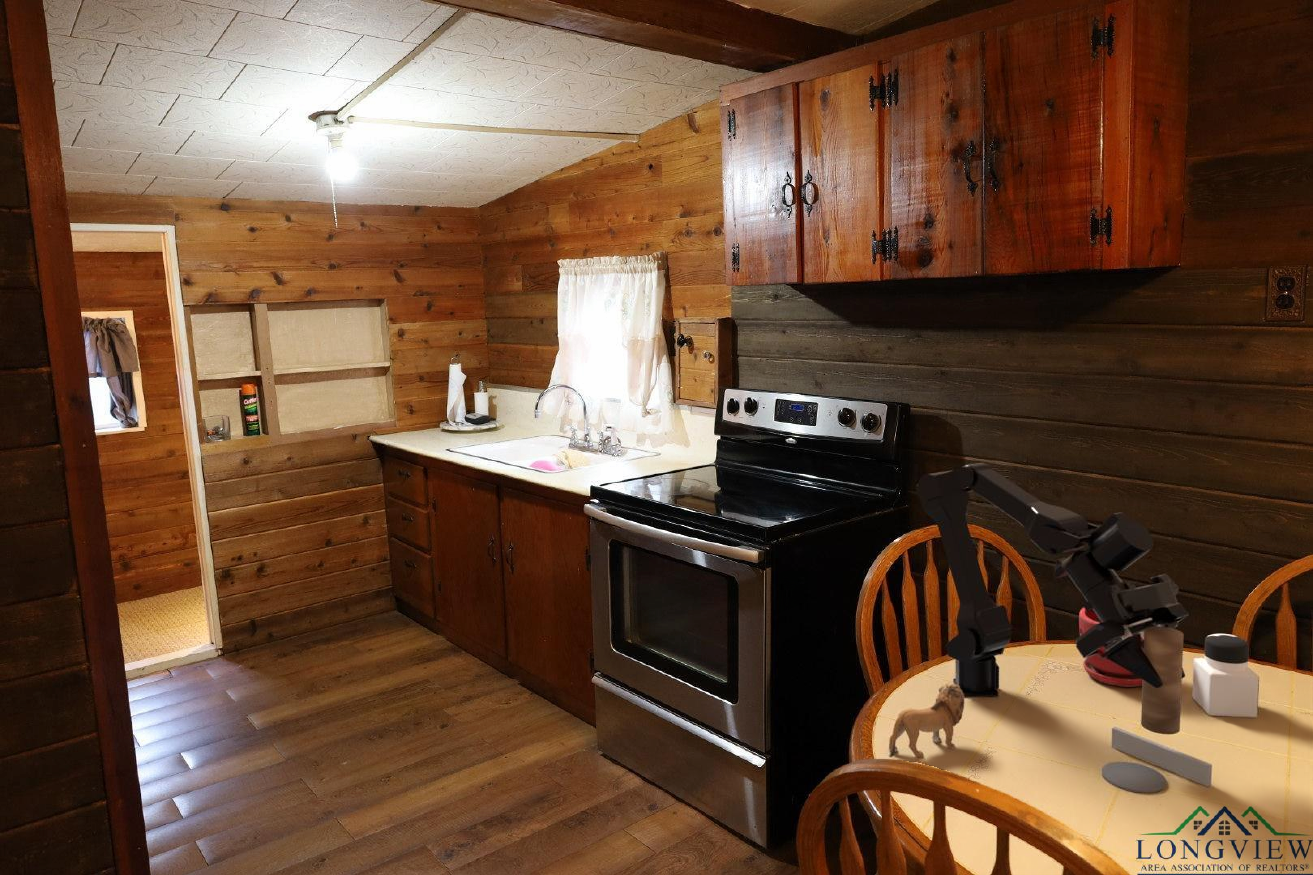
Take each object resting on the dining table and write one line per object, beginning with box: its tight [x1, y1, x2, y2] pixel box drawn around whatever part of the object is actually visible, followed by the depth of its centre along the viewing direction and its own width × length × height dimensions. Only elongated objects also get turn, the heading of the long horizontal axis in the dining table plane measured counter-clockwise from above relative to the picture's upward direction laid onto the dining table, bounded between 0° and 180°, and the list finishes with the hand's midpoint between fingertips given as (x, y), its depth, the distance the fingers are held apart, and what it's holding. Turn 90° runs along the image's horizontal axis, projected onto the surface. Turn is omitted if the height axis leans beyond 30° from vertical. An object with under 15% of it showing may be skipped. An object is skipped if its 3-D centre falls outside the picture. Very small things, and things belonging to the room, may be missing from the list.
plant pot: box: [1078, 607, 1144, 688], centre depth 158 cm, size 13×13×12 cm
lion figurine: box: [888, 682, 965, 758], centre depth 135 cm, size 15×5×9 cm, turn 119°
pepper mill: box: [1140, 626, 1184, 735], centre depth 125 cm, size 5×5×14 cm
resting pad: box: [1101, 761, 1167, 794], centre depth 125 cm, size 8×8×1 cm
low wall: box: [1111, 726, 1213, 787], centre depth 128 cm, size 14×1×3 cm, turn 30°
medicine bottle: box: [1191, 633, 1260, 719], centre depth 144 cm, size 7×7×12 cm
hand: (1171, 682), depth 124 cm, fingers closed on pepper mill, 5 cm apart
